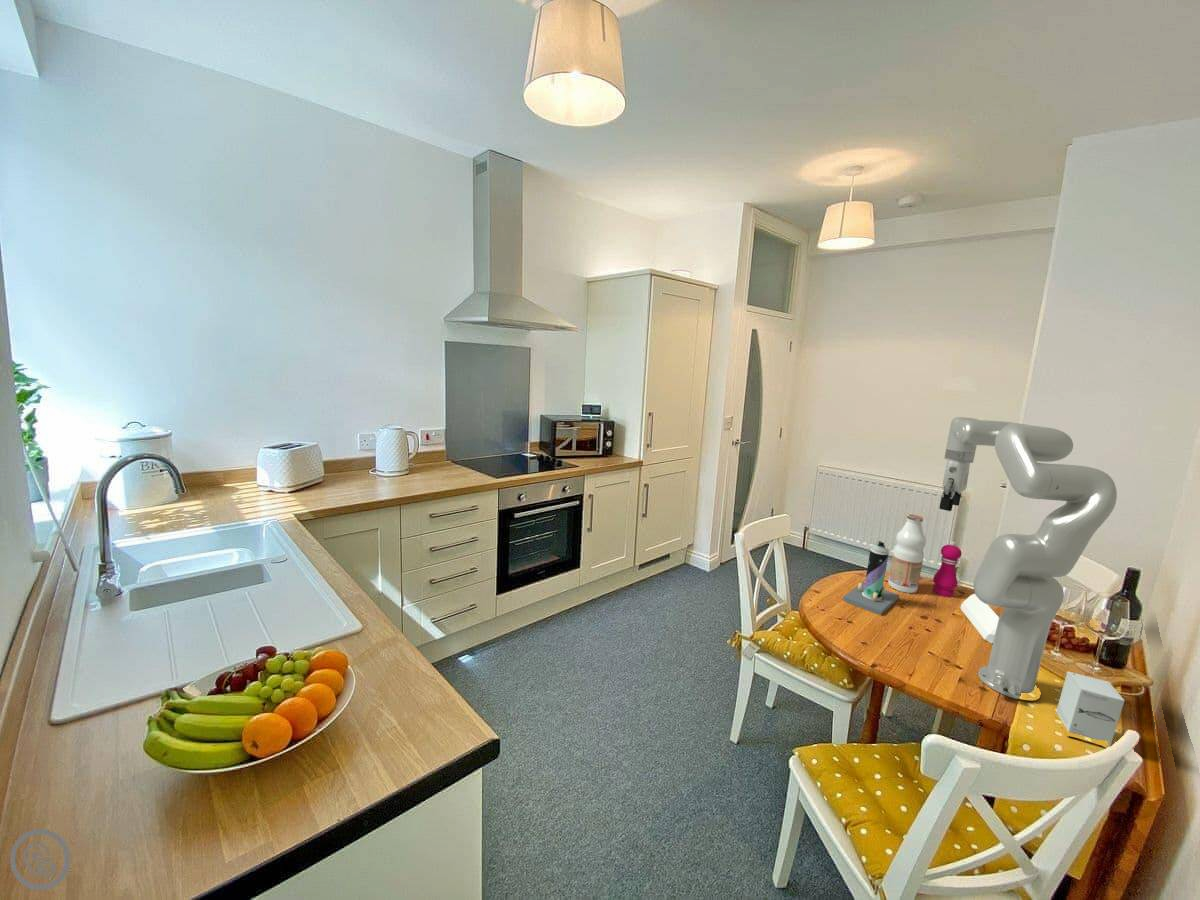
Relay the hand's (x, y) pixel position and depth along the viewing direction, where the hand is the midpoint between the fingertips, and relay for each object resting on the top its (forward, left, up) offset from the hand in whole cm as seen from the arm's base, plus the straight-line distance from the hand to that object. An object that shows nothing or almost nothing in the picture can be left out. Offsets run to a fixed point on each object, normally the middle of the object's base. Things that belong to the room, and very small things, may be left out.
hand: (949, 507), depth 155 cm
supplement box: (-38, -39, -36) cm, 66 cm away
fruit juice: (+10, +11, -36) cm, 39 cm away
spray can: (-10, +15, -35) cm, 39 cm away
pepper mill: (+18, 0, -36) cm, 41 cm away
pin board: (-10, +15, -36) cm, 41 cm away
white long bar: (+1, -15, -37) cm, 40 cm away
